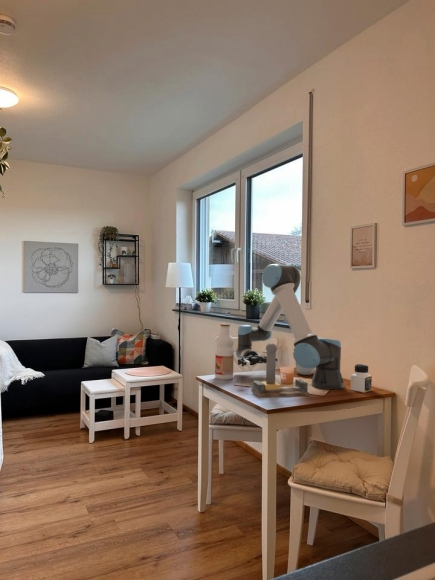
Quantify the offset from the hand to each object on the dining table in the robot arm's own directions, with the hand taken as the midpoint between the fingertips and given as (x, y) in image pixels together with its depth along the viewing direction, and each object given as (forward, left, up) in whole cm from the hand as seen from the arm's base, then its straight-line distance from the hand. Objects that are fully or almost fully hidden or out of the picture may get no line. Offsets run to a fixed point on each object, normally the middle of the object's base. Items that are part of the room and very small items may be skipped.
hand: (263, 364), depth 201 cm
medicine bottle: (-45, +10, -11) cm, 48 cm away
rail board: (-5, +10, -11) cm, 16 cm away
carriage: (0, +10, -8) cm, 13 cm away
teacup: (-35, -30, -11) cm, 47 cm away
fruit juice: (+13, -24, -11) cm, 29 cm away
